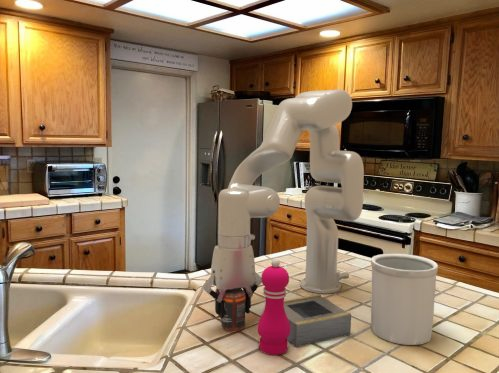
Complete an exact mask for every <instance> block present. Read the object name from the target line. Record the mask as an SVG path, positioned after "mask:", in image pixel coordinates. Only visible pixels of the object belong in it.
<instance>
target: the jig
mask: <svg viewBox="0 0 499 373" xmlns="http://www.w3.org/2000/svg"><path fill="white" fill-rule="evenodd" d="M284 310H285V313H286V315H287V318H288V320H289V323H290V335H289V336H288V337H287V338H286V339H287V340H288V342H289V343H291V344H292V345H293V346H294V347H295V348H298V347H302V346H307V345H310V344H311V345H312V344H315V343H319V342H324V341H329V340H332V339H337V338H341V337H346V336H350V335H351V334H352V332H351V329H352V312H351V311H347V310H345V309H344V308H341V306H338V305H337V304H335V303H333V302H331V300H328V299H327V298H325V297H323V296H322V294H321V293H316V294H312V295H307V296H300V297H294V298H289V299H284Z"/></svg>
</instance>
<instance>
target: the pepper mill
mask: <svg viewBox="0 0 499 373" xmlns="http://www.w3.org/2000/svg"><path fill="white" fill-rule="evenodd" d="M260 277H261V281H262V283H261V284H262V285H263V286H264V287H263V291H262V292H263V293H262V294H263V296H264V297H265V302H264V304H265V306H264V308H263V311H262V313H261V315H260V317H259V319H258V323H257V328H256V329H257V333H258V335H259V337H260V338H259V343H258V344H259V346H258V348H259V350H260V351H261V352H262V353H264V354H267V355H272V356H274V355H275V356H277V355H282V354H284V353H286V352H287V351H288V349H289V341H288V340H287V339H286V338H287V337H288V336H289V335H290V323H289V320H288V318H287V315H286V313H285V310H284V300H285V297H286V296H287V288H286V287H288V285H289V282H290V275H289V272H288V270H287V269H286V268H285V267H282V266H280V261H279V260H278V259H276V258H275V259H273V260H272V261H271V265H269V266H267V267H266V268H264V269H263V271H262V273H261V276H260Z"/></svg>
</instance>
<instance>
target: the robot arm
mask: <svg viewBox="0 0 499 373" xmlns="http://www.w3.org/2000/svg"><path fill="white" fill-rule="evenodd" d="M352 109H353V101H352V97H351V95H350V94H349V93H348V92H347V91H346V90H344V89H342V88H341V89H327V90H326V89H325V90H309V91H304V92H301V93H298V94H297V95H296V96H295V97H292V98H286V99H284V100H282V101H281V102H280V103H279V104H278V105H277V107H276V110H275V112H274V115H273V117H272V118H271V119H272V120H271V121H270V124H269V126H268V129H267V131H266V133H265V136H264V138H263V141H262V142H261V144H260V146H258V148H256V149H255V150H253V151H252V152H251V153H250V154H249V155H248V156H247V157H246V158H244V159H243V161H242V162H241V163H240V164H239V165H238V166H237V168H236V169H235V171H234V173H233V175H232V177H231V180H230V181H229V184H228V186H227V188H225V189H221V190H220V192H219V194H218V219H217V220H218V223H217V225H218V227H217V229H218V230H217V235H218V236H217V242H218V244H217V245H215V246H214V249H213V253H212V258H211V266H210V267H211V268H210V276H209V277H208V279H207V280H206V281H205V282H204V283H203V284H202V286H201V288H202V289H203V290H204V291H205V292H206V293H207V294H208V295H210V296H211V297H212V298H213V299H214V303H215V304H214V309H215V310H214V311H215V314H216V315H217V316H218V317H219V318H220V319H221V318H223V317H224V302H223V301H222V299H223V296H224V294H225V291H226V290H230V289H234V288H242V290H244V291H245V314H250V309H251V308H252V307H251V306H252V297H254V293H255V292H256V291H257V289H258V288H259V286H261V284H263V283H262V281H261V276H260V275H259V274H258V273H257V271H256V265H255V264H256V263H255V256H254V250H253V246H252V245H251V241H253V240H255V239H256V235H255V234H254V233H253V234H252V233H251V219H253V218H264V219H265V218H269V217H271V216H273V215H275V214H276V213H277V211H278V210H279V208H280V204H281V202H280V200H281V199H280V196H279V194H278V193H277V191H276V190H274V189H272V188H270V187H266V186H261V185H254V182H255V181H256V180H257V179H258V177H260V176H261V175H263V174H264V173H265V172H266V171H267V172H268V171H269V170H271V169H274V168H276V167H279V166H281V165H283V164H285V163H287V162H289V161H290V160H291V159H292V158H293V154H294V152H295V149H296V147H297V145H298V143H299V140H300V137H301V135H302V132H304V131H308V134H309V171H310V172H309V173H310V176H311V177H312V178H313V179H314V180H315V181H318V182H323V183H333V184H340V185H341V187H338V186H332V185H331V186H330V185H329V186H328V185H314V186H312V187H310V188H309V189H308V190H307V191H306V193H305V195H304V209H305V214H306V253H305V254H306V256H305V277H304V278H302V279H301V280H300V282H299V285H300V287H301V288H302V289H303V290H304V291H308V292H311V293H315V294H333V293H337V292H339V291H341V290H342V284H341V282H340V281H342V280H346V279H349V277H350V274H349V272H348V271H347V272H341V271H339V270H338V251H339V230H338V226H337V224H336V222H335V220H338V221H343V222H354V221H357V220H358V219H359V218H360V216H361V214H362V211H363V205H364V178H365V177H364V176H365V175H364V174H365V171H364V163H363V159H362V157H361V155H360V154H359V153H357V152H355V151H352V150H351V151H350V150H340V137H339V136H340V135H339V134H340V133H339V130H338V128H337V126H336V125H337V124H339V123H341V122H344V121H345V120H346V119H347V118H348V117H349V116H350V114H351V111H352ZM212 286H215V287H216V288H215V289H214V290H213V289H212Z"/></svg>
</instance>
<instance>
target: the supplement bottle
mask: <svg viewBox="0 0 499 373" xmlns="http://www.w3.org/2000/svg"><path fill="white" fill-rule="evenodd" d="M222 301H223V302H224V317H223V318H220V328H222V330H224V331H227V332H234V333H235V332H239V331H241V330H243V329H245V327H246V312H245V291H244V290H243V288H234V289H230V290H226V291H225V294H224V296H223V299H222Z"/></svg>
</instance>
